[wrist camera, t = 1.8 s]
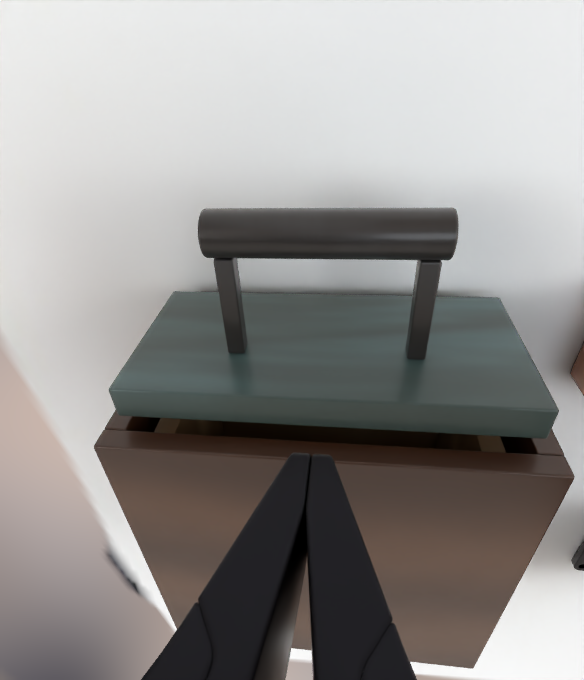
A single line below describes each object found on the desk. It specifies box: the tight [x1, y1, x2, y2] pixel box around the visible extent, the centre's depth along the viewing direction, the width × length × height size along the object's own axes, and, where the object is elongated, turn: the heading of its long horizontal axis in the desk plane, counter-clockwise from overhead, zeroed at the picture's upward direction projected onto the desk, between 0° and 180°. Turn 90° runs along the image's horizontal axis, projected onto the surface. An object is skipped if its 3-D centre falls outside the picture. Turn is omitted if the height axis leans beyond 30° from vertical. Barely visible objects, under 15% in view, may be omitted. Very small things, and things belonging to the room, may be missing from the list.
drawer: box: [109, 208, 559, 453], centre depth 18 cm, size 18×13×6 cm
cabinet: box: [94, 410, 574, 668], centre depth 21 cm, size 15×15×8 cm
